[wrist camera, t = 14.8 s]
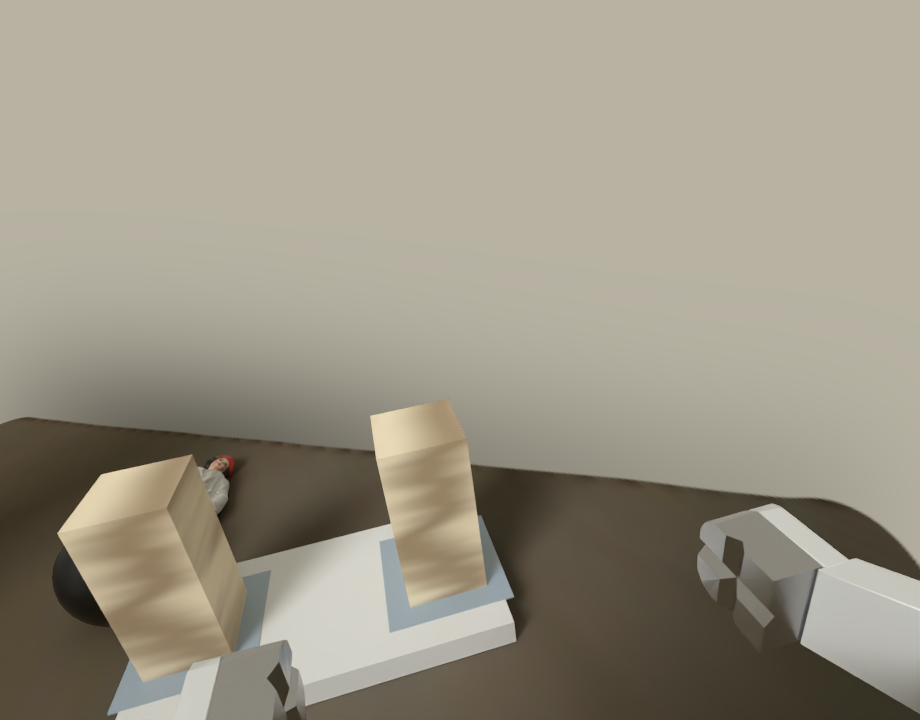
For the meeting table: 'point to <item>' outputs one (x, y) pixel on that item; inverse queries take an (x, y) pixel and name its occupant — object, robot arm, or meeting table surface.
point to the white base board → (346, 620)
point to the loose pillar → (430, 500)
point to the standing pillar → (158, 565)
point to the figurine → (72, 584)
